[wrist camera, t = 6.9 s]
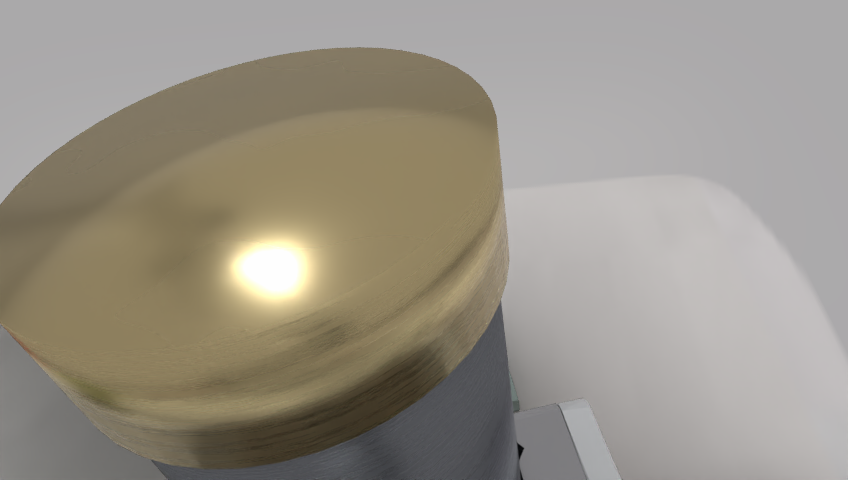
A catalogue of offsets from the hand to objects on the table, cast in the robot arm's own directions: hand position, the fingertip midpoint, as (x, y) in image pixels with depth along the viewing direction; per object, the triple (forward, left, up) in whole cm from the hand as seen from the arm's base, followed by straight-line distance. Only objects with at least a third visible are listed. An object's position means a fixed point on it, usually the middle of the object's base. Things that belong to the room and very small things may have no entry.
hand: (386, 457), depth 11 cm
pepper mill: (0, -1, -7) cm, 7 cm away
